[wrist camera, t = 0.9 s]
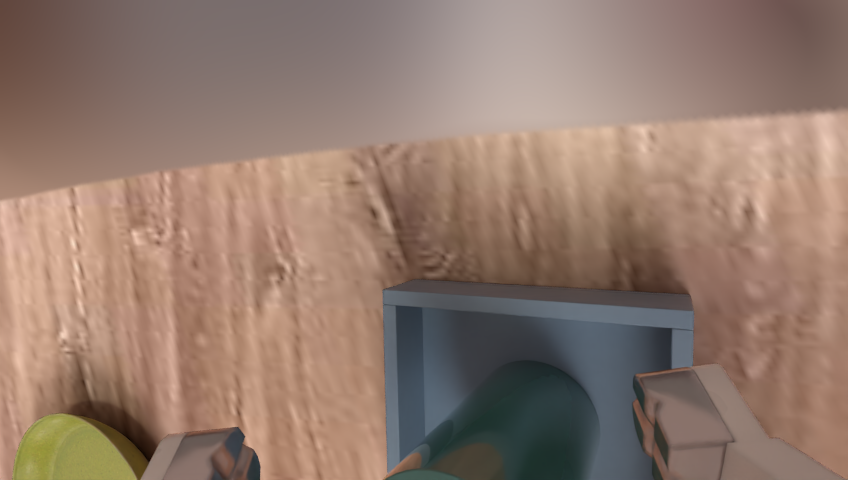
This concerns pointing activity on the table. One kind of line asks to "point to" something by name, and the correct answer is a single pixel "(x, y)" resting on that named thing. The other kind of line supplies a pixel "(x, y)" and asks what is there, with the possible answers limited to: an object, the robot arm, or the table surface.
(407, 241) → the table surface
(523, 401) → the teal cup
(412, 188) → the table surface
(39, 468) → the saucer
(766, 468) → the robot arm
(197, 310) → the table surface
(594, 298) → the tray
